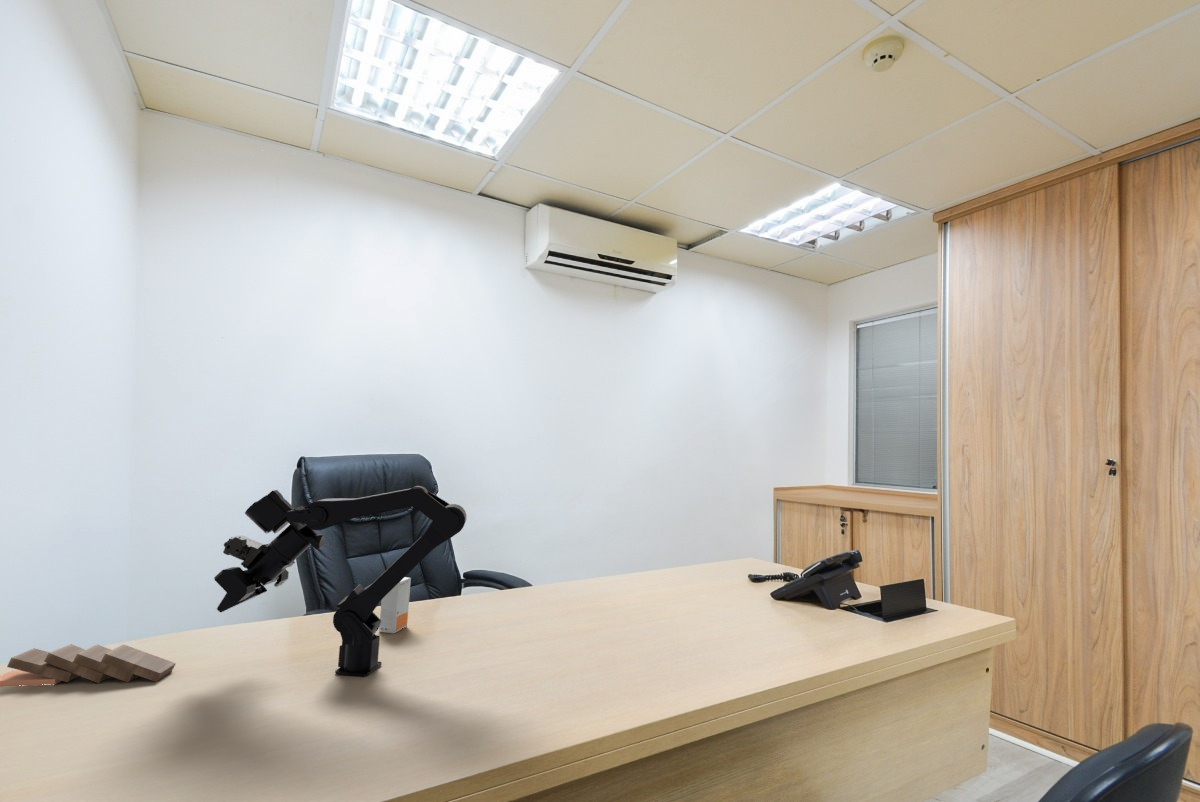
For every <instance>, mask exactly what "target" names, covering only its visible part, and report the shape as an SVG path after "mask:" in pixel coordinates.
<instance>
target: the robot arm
mask: <svg viewBox="0 0 1200 802" xmlns="http://www.w3.org/2000/svg"><path fill="white" fill-rule="evenodd" d="M412 507H413V508H415V509H416V510H418V511H419V512H421V514H423V515H424V516H425V517H427V518H428V519H429V520H431V521H432V522H431V523H430V524H429V526H428V527H427V529H425V531H424V533H423V534H422V535H421V536H420V537H419V538H418V539H417V540H416V541H415V542H414V543H413V544H412V545H411V546H410V547H408V548H407V550H406V551H404V553H402V554H401V555H400V556H399V557H398V558H397V559H396V560H395V561H393V563H392V564H391V565H390V566H389V567H388V568H387V569H386V570H385V571H384V572H382V573H381V575H380V576H378V577H377V579H375V581H373V583H371V584H369V585H367V586H365V587H363V585H362V584H361V583H359V584H358V585H357V586H356V587H355V588H354V589H352V591H351V592H350V594H349V595H347V596H345V597H344V598H343V599H342V600H341V601H339V603H337V605H336V608H338V609H337V610H336V611H335V612H334V614H333V616H332V618H333V619H332V624H333V627H334V628H335V630H336V632H339V634H340V637H341V644H340V646H339V651H338V660H337V662H338V663H337V664H338V665H337V666H338V668H336V670H335V672H334V673H335V674H336V675H347V676H359V677H367V676H368V675H370V674H371V673H373V672H374V671H375V670H377V669H378V668H380V667H381V666H382V665H383V664H382V661H379V653H380V652H379V651H380V650H379V649H380V637H381V636H380V635H377V634H376V633H377V632H378V631H379V626H380V624H381V620H380V617H379V616H378V615H376V614H375V612H374V611H375V610H376V608H377V607H378V606H379V604H380V603H381V601H382V599H383V598H384V597H385V596H386V595H387V594H388V593H389V592H390V591H391V590H392V589H393V588H394V587H395V586H396V585H397V584H398V583H399V582H400V581H401V580H402V579H403V578H404V577H407V576H408V574H410V573H411V572H412V571H413V570H414V569H415V567H417V566H418V565H419V564H420V563H421V562H422V561H423V560H424V559H426V557H427V556H428V555H429V554H430V553H431V552H432V551H434V550H435V549H436V548H438V547H440V545H442V544H444V543H445V542H447V541H448V540H450V539H452V538H453V537H454V536H455V535H457V534H459V533H460V532H461V531H462V530H463V528H464V526H465V524H466V521H467V513H466V512H467V511H466V510H465V509H464V508H463V507H462V506H461V505H459V504H456V503H449V502H447V501H446V500H444V499H442V498H441V497H439V496H437V495H436V494H435V493H432V492H430V491H429V490H428V489H427V488H426V487H425V486H421V485H416V486H413V487H411V488H406V489H402V490H394V491H390V492H386V493H385V492H384V493H380V494H379V493H378V494H374V495H368V496H362V497H358V498H353V497H352V498H350V497H349V498H347V497H346V498H344V497H343V498H341V497H339V498H338V497H337V498H322V499H319V500H316V501H313V502H310V503H309V504H307V506H303V505H301V506H298V507H294V506H293V505H292V504H291V503H290V502H289V501H288V500H287V499H285V497H284V496H283V494H282V493H281V492H280V491H279V490H278V489H274V490H270V492H269V493H268V494H266V495H265V496H262V497H261V498H260V499H259V500H258V501H254V502H253V503H252V504H251V505H250V506H248V508H247V509H246V510H245V512H244V514H245V515H246V517H248V518H249V519H250V520H251V521H252V522H253V523H254V524H255V525H256V526H257V527H258V528H259V529H260V530H261V531H262V532H264V533H265V534H270V533H271V532H272V533H273V534H277V533H279V532H280V531H281V530H282V531H281V532H280V533H279V534H278V535H277V536H276V537H274V539H272V540H271V541H270V542H269V543H266V544H264V543H263V544H262V542H258V541H256V540H254V539H252V538H250V537H248V536H245V535H234V536H231V537H230V538H228V540H227V541H226V542H224V543H223V547H224V549H223V551H222V553H223V554H224V555H226V556H231V557H234V558H236V559H238V560H240V561H242V562H240V565H241V566H242V567H243V568H245V569H246V570H243V569H242V568H241V566H233V567H227V568H224V569H222V570H221V571H220V572H218V573H217V574H216V575H215V576H214V578H213V580H214V581H215V582H216V583H217V585H219V586H220V587H221V588H222V589H223V591H225V595H224V596H223V598H222V600H221V601H220V602H219V604H218V606H217V608H216V610H217V611H218V612H219V613H223V612H225V611H227V610H229V609H231V608H232V609H233V608H234V607H236V606H238V605H240V604H243V603H245V602H246V601H249V600H251V599H253V598H255V597H257V596H260V595H262V594H265V593H266V592H267V591H268V590H267V588H266V587H265V586H267V585H269V584H273V583H274V584H273V586H274V587H275V588H278V587H279V586H282V585H283V584H284V583H285V582H286V581H287V580H288V579H289V571H288V570H287V568H291V567H292V566H293V565H294V564H295V563H296V562H295V561H296V560H297V558H299V557H300V556H301V555H302V554H303V553H304V552H305V551H306V550H307V549H308V548H309V547H310V546H311V547H313V548H314V549H315V550H319V549H321V548H324V547H325V536H326V534H324V533H317V532H316V531H323V530H326V529H328V528H330V527H333V526H336V525H339V524H342V523H345V522H347V521H349V520H352V519H355V518H359V517H364V516H369V515H374V514H380V513H385V512H389V511H395V510H399V509H405V508H412ZM288 524H289V525H288ZM287 525H288V526H287ZM285 527H286V528H285ZM283 528H284V529H283Z"/></svg>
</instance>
